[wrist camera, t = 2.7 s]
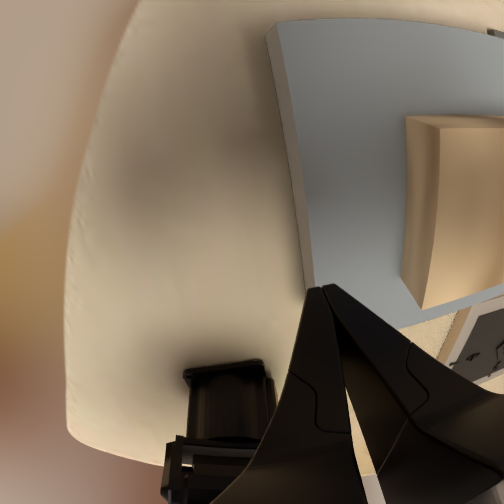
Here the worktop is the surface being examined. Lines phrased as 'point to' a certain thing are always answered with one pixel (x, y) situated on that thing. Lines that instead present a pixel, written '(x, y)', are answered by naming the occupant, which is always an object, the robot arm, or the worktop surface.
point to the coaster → (453, 206)
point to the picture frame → (476, 341)
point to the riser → (371, 141)
